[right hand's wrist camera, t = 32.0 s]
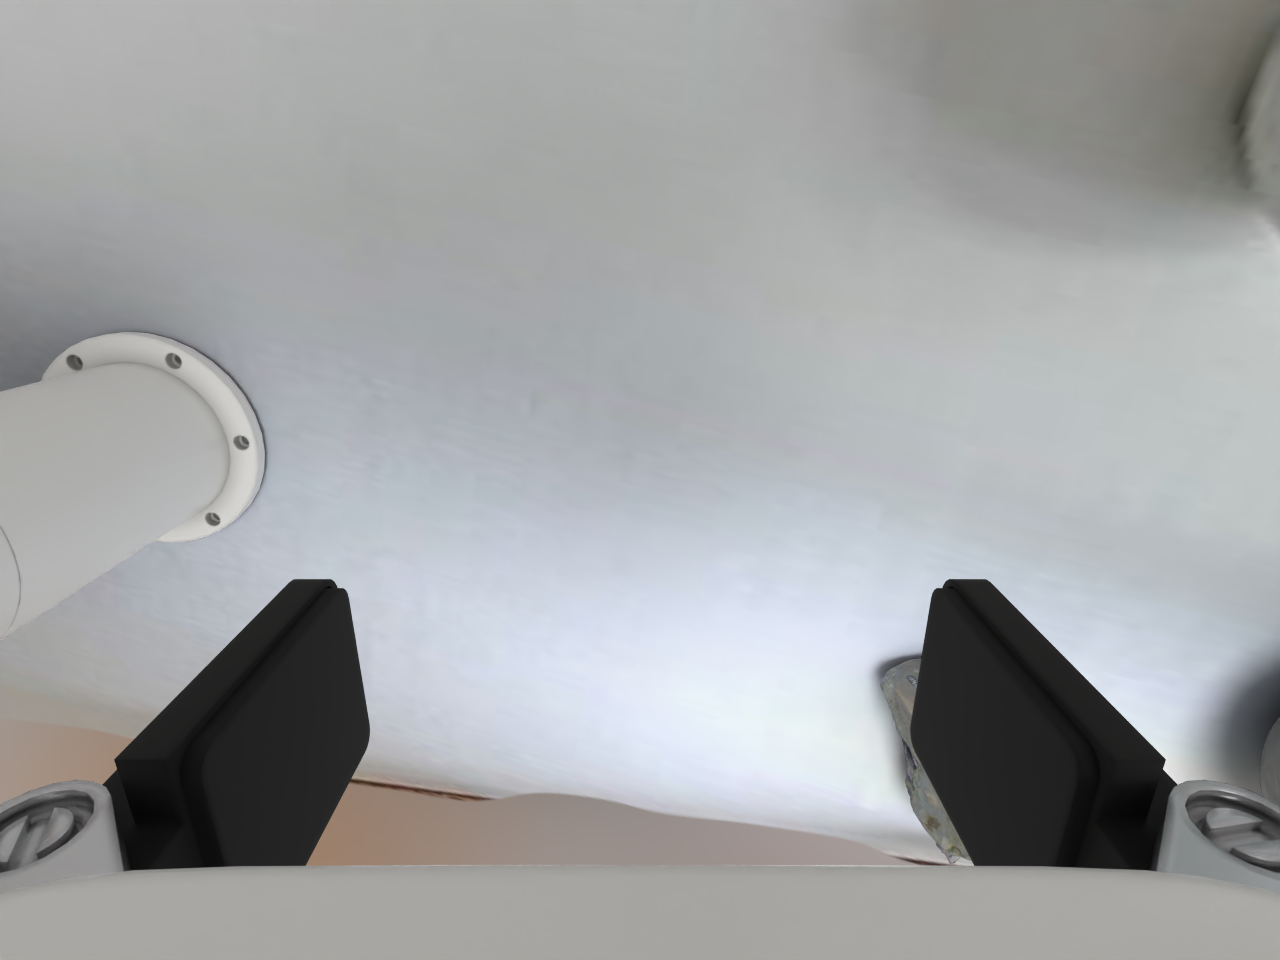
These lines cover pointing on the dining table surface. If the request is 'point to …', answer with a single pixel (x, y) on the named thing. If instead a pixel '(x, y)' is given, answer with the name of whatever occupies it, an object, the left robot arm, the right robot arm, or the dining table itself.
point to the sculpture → (1271, 764)
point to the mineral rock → (923, 796)
